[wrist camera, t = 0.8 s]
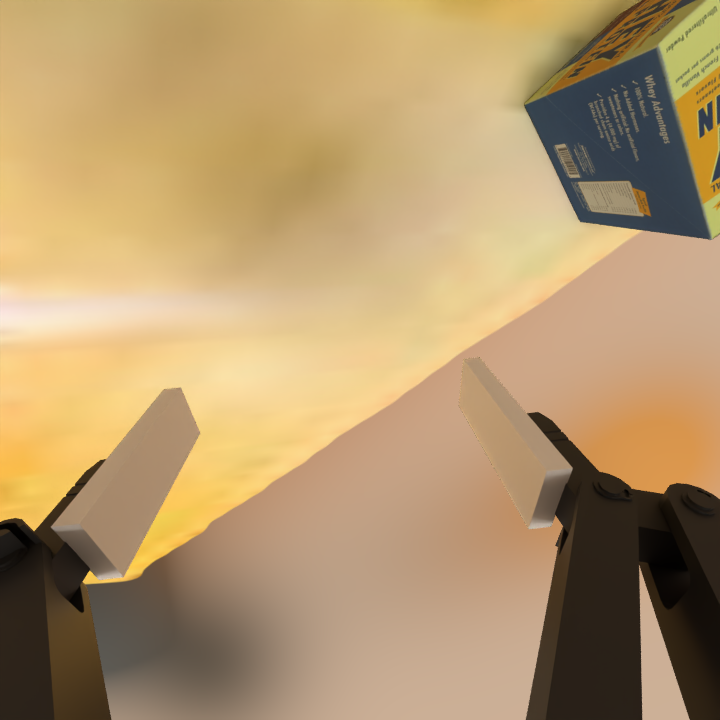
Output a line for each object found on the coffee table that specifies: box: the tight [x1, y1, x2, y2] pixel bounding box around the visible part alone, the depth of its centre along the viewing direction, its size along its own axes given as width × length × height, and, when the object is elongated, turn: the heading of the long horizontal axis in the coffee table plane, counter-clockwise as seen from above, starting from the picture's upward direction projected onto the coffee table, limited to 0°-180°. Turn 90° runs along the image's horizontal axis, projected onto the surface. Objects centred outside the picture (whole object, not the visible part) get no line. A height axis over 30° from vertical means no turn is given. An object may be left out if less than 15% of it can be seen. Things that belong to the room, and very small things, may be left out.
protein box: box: [525, 0, 720, 240], centre depth 27 cm, size 10×15×16 cm
